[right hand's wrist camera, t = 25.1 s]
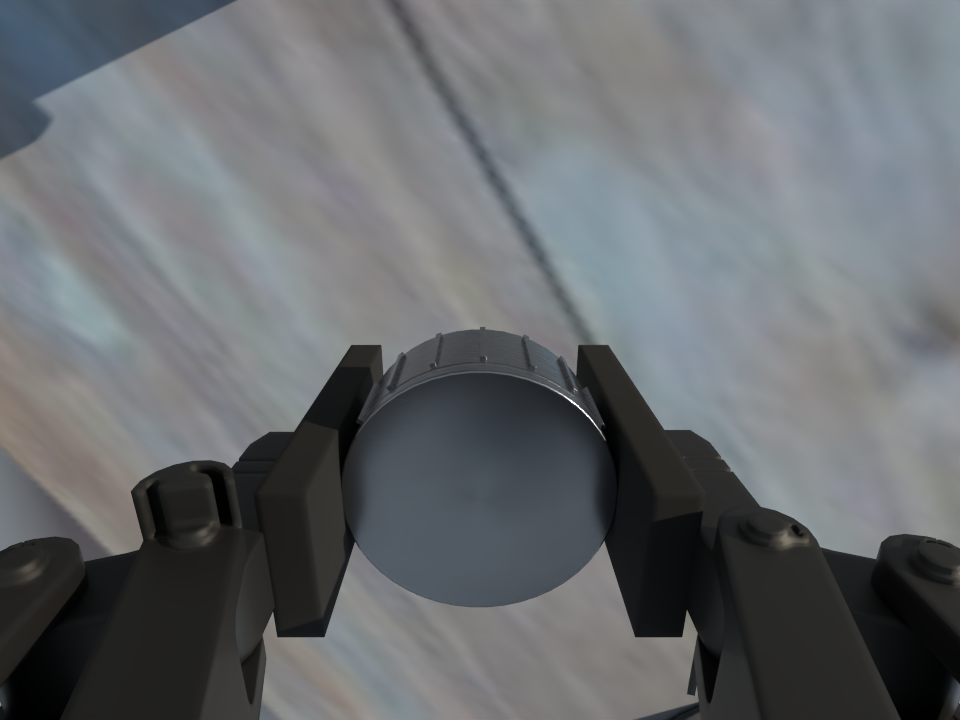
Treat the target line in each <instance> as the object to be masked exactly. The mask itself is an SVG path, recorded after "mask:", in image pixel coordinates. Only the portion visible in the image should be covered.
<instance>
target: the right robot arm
mask: <svg viewBox="0 0 960 720" xmlns="http://www.w3.org/2000/svg"><path fill="white" fill-rule="evenodd" d="M382 377H383V365H382V349H381V345H351V347H350V348H349V350H348V351H347V353H346V354H345V356H344V357H343V359H342V360H341V362H340V363H339V365H338V366H337V368H336V369H335V371H334V372H333V374H332V375H331V377H330V378H329V380H328V381H327V383H326V384H325V386H324V387H323V389H322V390H321V392H320V394H319V395H318V397H317V398H316V400H315V401H314V403H313V404H312V406H311V407H310V409H309V410H308V412H307V413H306V415H305V416H304V418H303V419H302V421H301V422H300V424H299V425H298V427H297V428H296V430H295V431H294V432H269V433H267V434H266V435H264V436H263V437H261V438H259V439H258V440H256V441H255V442H253V443H251V444H250V445H249V447H248V448H247V449H246V450H245V452H244V453H243V454H242V455H241V457H240V458H239V462H236V463H235V464H234V466H233V467H232V468H230V467H229V466H227V465H226V464H225V463H221V462H216V461H211V460H206V461H190V462H185V463H181V464H176V465H172V466H170V467H167V468H164V469H162V470H159V471H156V472H154V473H153V474H151V475H150V476H148V477H146V478H145V479H143V480H141V481H140V482H139V483H138V484H137V485H136V486H135V487H134V488H133V490H132V491H131V494H132V498H133V502H134V506H135V510H136V513H137V517H138V521H139V525H140V529H141V533H142V536H143V540H144V541H143V543H142V545H141V547H140V549H139V550H137V551H133V552H129V553H125V554H120V555H115V556H110V557H105V558H100V559H95V560H91V561H86V562H84V560H83V557H82V553H81V550H80V547H79V545H78V544H77V543H75V542H74V541H73V540H72V539H69V538H62V537H48V538H39V539H33V540H28V541H25V542H23V543H22V542H20V543H18V544H15V545H12V546H9V547H8V548H6V549H4V550H2V551H0V702H1V707H0V720H259V717H260V708H261V700H262V691H263V683H264V674H265V666H266V653H265V646H264V640H263V632H264V630H265V628H266V626H267V623H268V621H269V619H270V617H271V614H272V612H273V613H274V619H275V625H276V631H277V637H325V634H326V630H327V627H328V624H329V621H330V618H331V615H332V612H333V609H334V605H335V602H336V599H337V596H338V593H339V590H340V587H341V584H342V580H343V577H344V574H345V571H346V568H347V565H348V562H349V558H350V555H351V552H352V549H353V546H354V543H355V540H354V538H353V537H352V535H351V532H350V530H349V527H348V525H347V523H346V520H345V516H344V510H343V500H342V490H341V474H342V470H343V465H344V460H345V457H346V455H347V452H348V449H349V447H350V444H351V442H352V440H353V437H354V435H355V433H356V430H357V428H358V426H359V424H358V423H356V421H357V419H358V416H359V414H360V412H361V410H362V408H363V405H364V403H365V401H366V399H367V397H368V395H369V392H370V390H371V388H372V386H373V384H374V382H376V383H379V381H380V380H381V378H382ZM576 377H577V378H578V380H579V381H580V383H581V385H582V387H583V388H585V387H588V389H589V391H590V394H591V396H592V398H593V400H594V402H595V405H596V407H597V409H598V411H599V413H600V415H601V418H602V420H603V422H604V424H605V426H606V428H605V429H603V433H604V435H605V437H606V439H607V442H608V444H609V446H610V449H611V452H612V454H613V457H614V460H615V464H616V469H617V474H618V495H617V505H616V512H615V516H614V519H613V523H612V525H611V527H610V530H609V532H608V534H607V537H606V538H605V540H604V541H605V544H606V547H607V550H608V553H609V556H610V560H611V563H612V566H613V569H614V572H615V575H616V578H617V581H618V585H619V588H620V591H621V594H622V597H623V600H624V603H625V606H626V610H627V613H628V616H629V619H630V622H631V625H632V628H633V632H634V635H635V637H682V635H683V629H684V623H685V617H686V611H687V610H688V612H689V615H690V617H691V619H692V621H693V624H694V626H695V628H696V630H697V632H698V635H697V640H696V646H695V651H694V657H693V662H692V668H691V673H690V679H689V685H688V692H687V694H690V695H694V696H695V691H696V686H697V690H698V698H699V707H697V708H695V709H692V710H690V711H688V712H685V713H683V714H681V715H680V716H678V717H676V718H674V719H673V720H960V704H959V701H960V548H958V547H955V546H954V545H952V544H950V543H948V542H945V541H942V540H936V539H935V538H931V537H926V536H917V535H909V534H902V535H894V536H889V537H888V538H887V539H885V540H884V541H883V542H881V546H880V549H879V552H878V555H877V558H876V559H872V558H867V557H862V556H857V555H852V554H847V553H842V552H837V551H832V550H829V549H825V548H821V547H820V546H819V544H818V542H817V540H816V539H815V537H814V536H813V535H812V533H811V532H810V531H809V530H808V528H806V527H805V526H803V525H802V524H801V523H799V522H798V521H796V520H795V519H794V518H791V517H789V516H787V515H785V514H782V513H780V512H778V511H775V510H771V509H767V508H763V507H760V506H759V504H758V503H757V502H756V500H755V499H754V498H753V497H752V495H751V494H750V493H749V492H748V490H747V489H746V488H745V487H744V485H743V484H742V483H741V481H740V480H739V479H738V478H737V476H736V475H735V474H734V473H733V472H731V471H730V468H729V466H728V465H727V464H726V462H725V461H724V460H721V456H720V455H719V454H718V452H717V451H716V450H715V449H714V447H713V446H712V445H711V443H710V442H708V441H707V440H705V439H703V438H702V437H700V436H699V435H697V434H695V433H694V432H692V431H691V430H664V429H663V427H662V426H661V424H660V423H659V421H658V420H657V418H656V417H655V415H654V414H653V412H652V411H651V409H650V408H649V406H648V405H647V403H646V402H645V400H644V399H643V397H642V396H641V394H640V393H639V391H638V390H637V388H636V386H635V385H634V383H633V382H632V380H631V379H630V377H629V376H628V374H627V373H626V371H625V370H624V368H623V367H622V365H621V364H620V362H619V361H618V359H617V358H616V356H615V355H614V353H613V352H612V350H611V349H610V347H609V346H608V345H578V359H577V375H576Z"/></svg>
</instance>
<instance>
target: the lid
mask: <svg viewBox="0 0 960 720" xmlns="http://www.w3.org/2000/svg"><path fill="white" fill-rule="evenodd" d="M356 423H358V424H359V426H358V428H357V430H356V433H355V435H354V437H353V440H352V442H351V444H350V447H349V449H348V452H347V455H346V457H345V460H344V465H343V470H342V474H341V490H342V500H343V510H344V516H345V520H346V523H347V525H348V527H349V530H350V532H351V535H352V537H353V538H354V540H355V542H356V543H357V545H358V547H359V548H360V550H361V551H362V552H363V554H364V555H365V556H366V557H367V559H368V560H369V561H370V562H371V563H372V564H373V565H374V566H375V567H376V568H377V569H378V570H379V571H380V572H381V573H382V574H384V575H385V576H386V577H388V578H389V579H390V580H392V581H393V582H394V583H396V584H398V585H400V586H401V587H403V588H405V589H406V590H408V591H410V592H413V593H415V594H417V595H419V596H422V597H424V598H428V599H431V600H434V601H437V602H441V603H446V604H450V605H456V606H465V607H493V606H503V605H508V604H513V603H518V602H522V601H525V600H528V599H531V598H535V597H537V596H539V595H542V594H544V593H546V592H548V591H551V590H552V589H554V588H556V587H558V586H559V585H561V584H563V583H564V582H566V581H567V580H569V579H570V578H571V577H573V576H574V575H575V574H577V573H578V572H579V571H580V570H581V569H582V568H583V567H584V566H585V565H586V564H587V563H588V562H589V561H590V560H591V559H592V557H593V556H594V555H595V554H596V552H597V551H598V550H599V548H600V547H601V545H602V543H603V542H604V540H605V538H606V537H607V534H608V532H609V530H610V527H611V525H612V523H613V519H614V516H615V512H616V505H617V495H618V474H617V469H616V464H615V460H614V457H613V454H612V452H611V449H610V446H609V444H608V442H607V439H606V437H605V435H604V433H603V429H605V428H606V426H605V424H604V422H603V420H602V418H601V415H600V413H599V411H598V409H597V407H596V405H595V402H594V400H593V398H592V396H591V394H590V391H589V389H588V387H585V388H583V387H582V385H581V383H580V381H579V380H578V378H577V377H576V376H575V374H574V373H573V372H572V370H571V369H570V368H569V367H568V365H567V363H566V361H565V358H563V357H562V356H560V357H557V356H556V355H555V354H553V353H552V352H551V351H549V350H548V349H546V348H544V347H543V346H541V345H539V344H537V343H536V342H534V341H531V340H529V336H526V335H524V336H523V337H521V336H518V335H515V334H511V333H507V332H502V331H494V330H485V327H480V330H465V331H457V332H452V333H448V334H444V335H442V334H441V333H439V334H436V337H435V338H433V339H430V340H428V341H425V342H424V343H422V344H420V345H418V346H416V347H414V348H413V349H411V350H410V351H408V352H407V353H406V354H404V353H403V352H402V353H401V354H399V356H398V358H397V361H396V362H395V363H394V364H393V365H392V366H391V367H390V368H389V369H388V371H387V372H386V373H385V374H384V376H383V377H382V378H381V380H380V381H379V383H376V382H374V384H373V386H372V388H371V390H370V392H369V395H368V397H367V399H366V401H365V403H364V405H363V408H362V410H361V412H360V414H359V416H358V419H357V421H356Z"/></svg>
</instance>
